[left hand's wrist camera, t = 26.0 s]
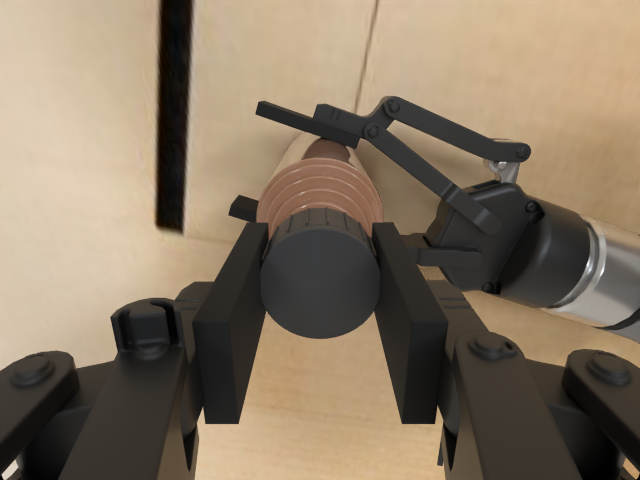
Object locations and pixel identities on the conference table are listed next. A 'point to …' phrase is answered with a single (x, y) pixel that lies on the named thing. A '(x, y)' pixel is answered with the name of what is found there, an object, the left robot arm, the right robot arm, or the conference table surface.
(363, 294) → the cap
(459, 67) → the conference table surface
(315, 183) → the bottle
